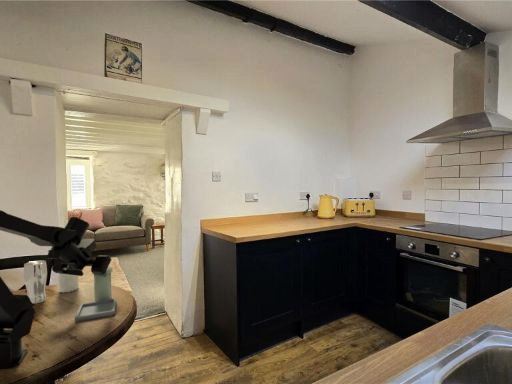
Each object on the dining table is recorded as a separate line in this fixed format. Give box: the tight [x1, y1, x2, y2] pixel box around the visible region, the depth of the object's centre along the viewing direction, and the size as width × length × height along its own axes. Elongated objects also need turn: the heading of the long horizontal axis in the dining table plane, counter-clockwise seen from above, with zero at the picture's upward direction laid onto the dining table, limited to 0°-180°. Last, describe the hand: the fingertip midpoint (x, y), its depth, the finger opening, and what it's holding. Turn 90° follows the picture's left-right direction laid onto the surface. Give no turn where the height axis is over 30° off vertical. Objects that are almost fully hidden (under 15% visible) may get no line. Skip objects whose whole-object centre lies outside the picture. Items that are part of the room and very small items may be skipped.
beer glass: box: [23, 259, 48, 305], centre depth 106 cm, size 7×7×15 cm
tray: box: [74, 297, 117, 323], centre depth 97 cm, size 11×11×2 cm
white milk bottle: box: [57, 273, 79, 294], centre depth 117 cm, size 7×7×25 cm
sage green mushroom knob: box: [91, 266, 113, 302], centre depth 106 cm, size 7×7×12 cm
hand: (94, 275), depth 102 cm, fingers open, 9 cm apart
